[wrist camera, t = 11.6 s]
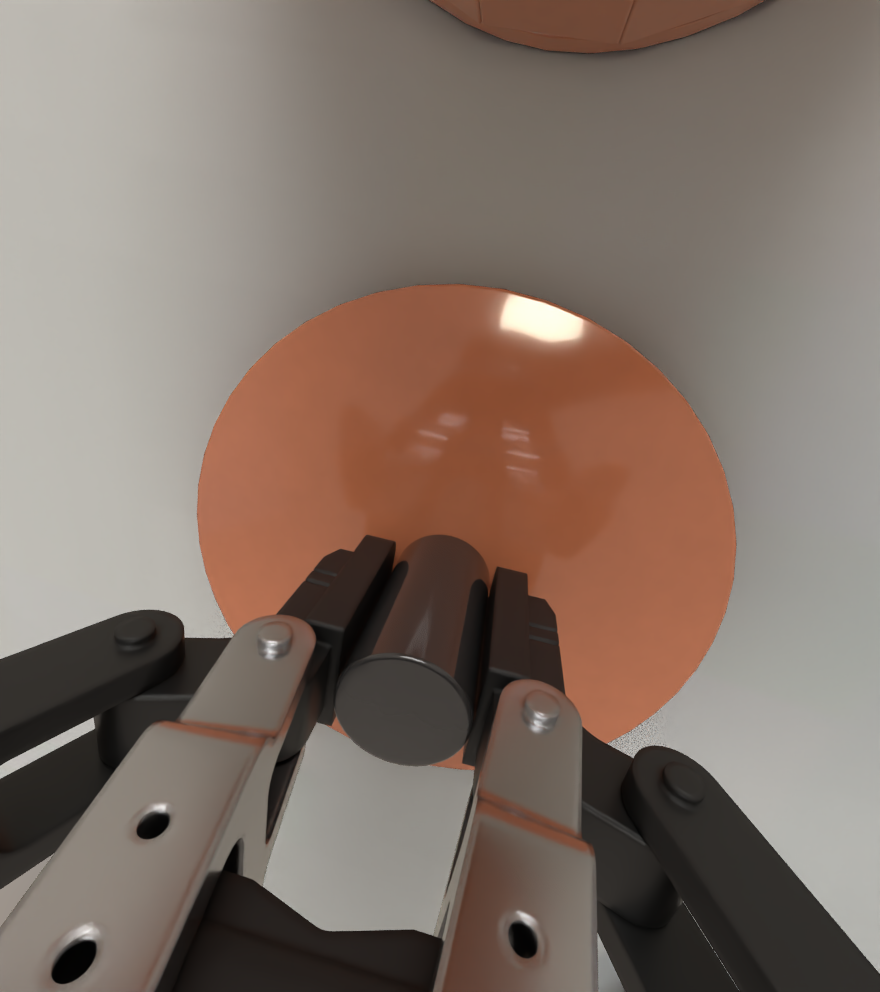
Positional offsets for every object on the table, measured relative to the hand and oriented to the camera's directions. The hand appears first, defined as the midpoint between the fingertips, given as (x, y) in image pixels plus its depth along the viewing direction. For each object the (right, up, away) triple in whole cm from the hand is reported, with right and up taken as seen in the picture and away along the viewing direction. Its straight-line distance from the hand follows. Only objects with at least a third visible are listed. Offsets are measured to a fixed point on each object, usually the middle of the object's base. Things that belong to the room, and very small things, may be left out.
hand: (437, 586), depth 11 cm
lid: (0, 0, +1) cm, 1 cm away
